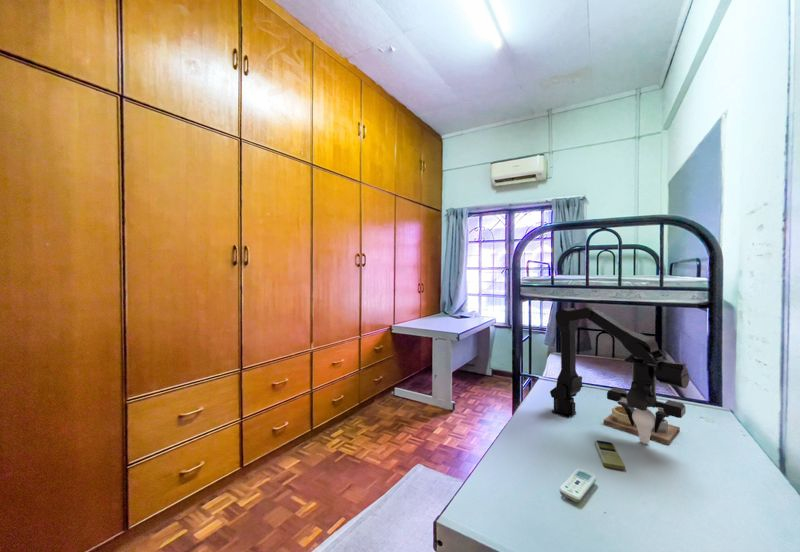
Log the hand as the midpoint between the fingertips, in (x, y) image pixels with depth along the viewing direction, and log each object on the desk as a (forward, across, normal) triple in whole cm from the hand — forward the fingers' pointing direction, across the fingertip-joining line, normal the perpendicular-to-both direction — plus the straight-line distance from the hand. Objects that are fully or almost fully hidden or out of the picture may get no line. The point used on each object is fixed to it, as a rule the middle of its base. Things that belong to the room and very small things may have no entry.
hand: (644, 428), depth 100 cm
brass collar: (+3, -7, +11) cm, 14 cm away
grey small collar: (+3, +1, +11) cm, 11 cm away
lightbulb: (+5, 0, 0) cm, 5 cm away
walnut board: (+4, -4, +11) cm, 13 cm away
